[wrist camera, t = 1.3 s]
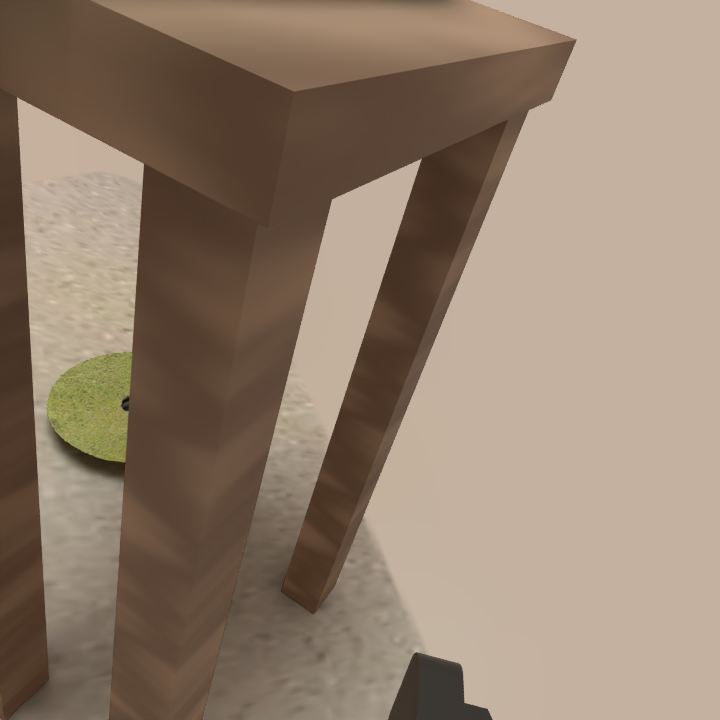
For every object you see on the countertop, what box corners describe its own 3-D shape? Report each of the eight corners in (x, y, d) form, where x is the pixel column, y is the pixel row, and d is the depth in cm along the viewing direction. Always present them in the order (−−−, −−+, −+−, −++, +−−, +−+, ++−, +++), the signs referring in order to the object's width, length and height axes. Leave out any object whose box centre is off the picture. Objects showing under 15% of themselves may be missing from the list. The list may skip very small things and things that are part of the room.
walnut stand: (-49, 691, 30) (-253, -154, 12) (196, 484, 43) (285, -69, 25) (145, 865, 27) (294, 91, 8) (345, 584, 40) (576, 39, 21)
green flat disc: (53, 493, 40) (52, 472, 39) (43, 375, 47) (42, 354, 46) (230, 469, 45) (234, 450, 44) (196, 366, 53) (199, 347, 51)
